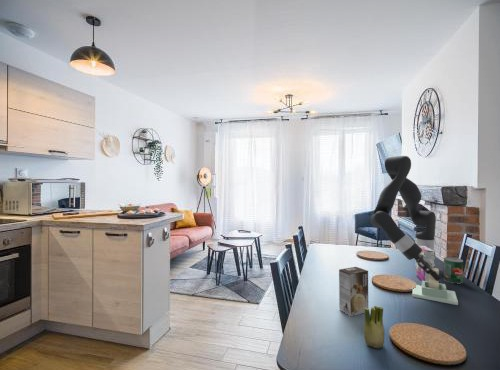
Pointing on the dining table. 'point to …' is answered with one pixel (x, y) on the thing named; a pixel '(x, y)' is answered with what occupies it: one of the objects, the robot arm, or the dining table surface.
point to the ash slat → (433, 280)
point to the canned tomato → (453, 270)
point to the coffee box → (353, 290)
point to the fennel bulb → (374, 327)
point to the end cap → (435, 293)
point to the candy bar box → (430, 257)
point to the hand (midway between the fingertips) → (438, 277)
